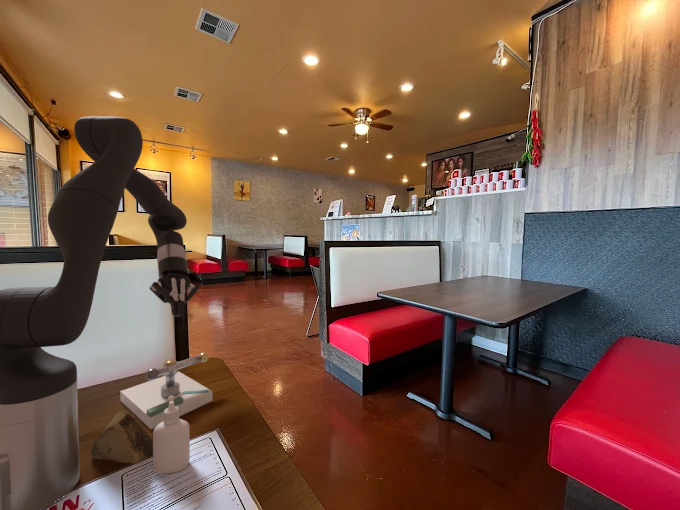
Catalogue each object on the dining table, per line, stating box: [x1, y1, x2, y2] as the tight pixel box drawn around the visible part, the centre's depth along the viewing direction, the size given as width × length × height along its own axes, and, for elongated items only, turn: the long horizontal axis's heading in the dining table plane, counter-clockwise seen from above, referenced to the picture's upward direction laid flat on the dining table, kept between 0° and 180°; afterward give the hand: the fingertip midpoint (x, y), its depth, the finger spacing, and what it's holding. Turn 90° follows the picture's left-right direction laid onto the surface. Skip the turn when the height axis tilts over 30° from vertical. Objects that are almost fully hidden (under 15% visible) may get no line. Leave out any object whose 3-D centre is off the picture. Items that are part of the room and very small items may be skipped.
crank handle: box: [145, 351, 209, 387], centre depth 73 cm, size 15×3×6 cm, turn 144°
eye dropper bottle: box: [152, 401, 191, 474], centre depth 51 cm, size 4×6×12 cm
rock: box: [90, 410, 153, 465], centre depth 55 cm, size 11×9×10 cm
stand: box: [119, 371, 213, 430], centre depth 72 cm, size 14×18×5 cm
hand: (178, 315), depth 77 cm, fingers closed
